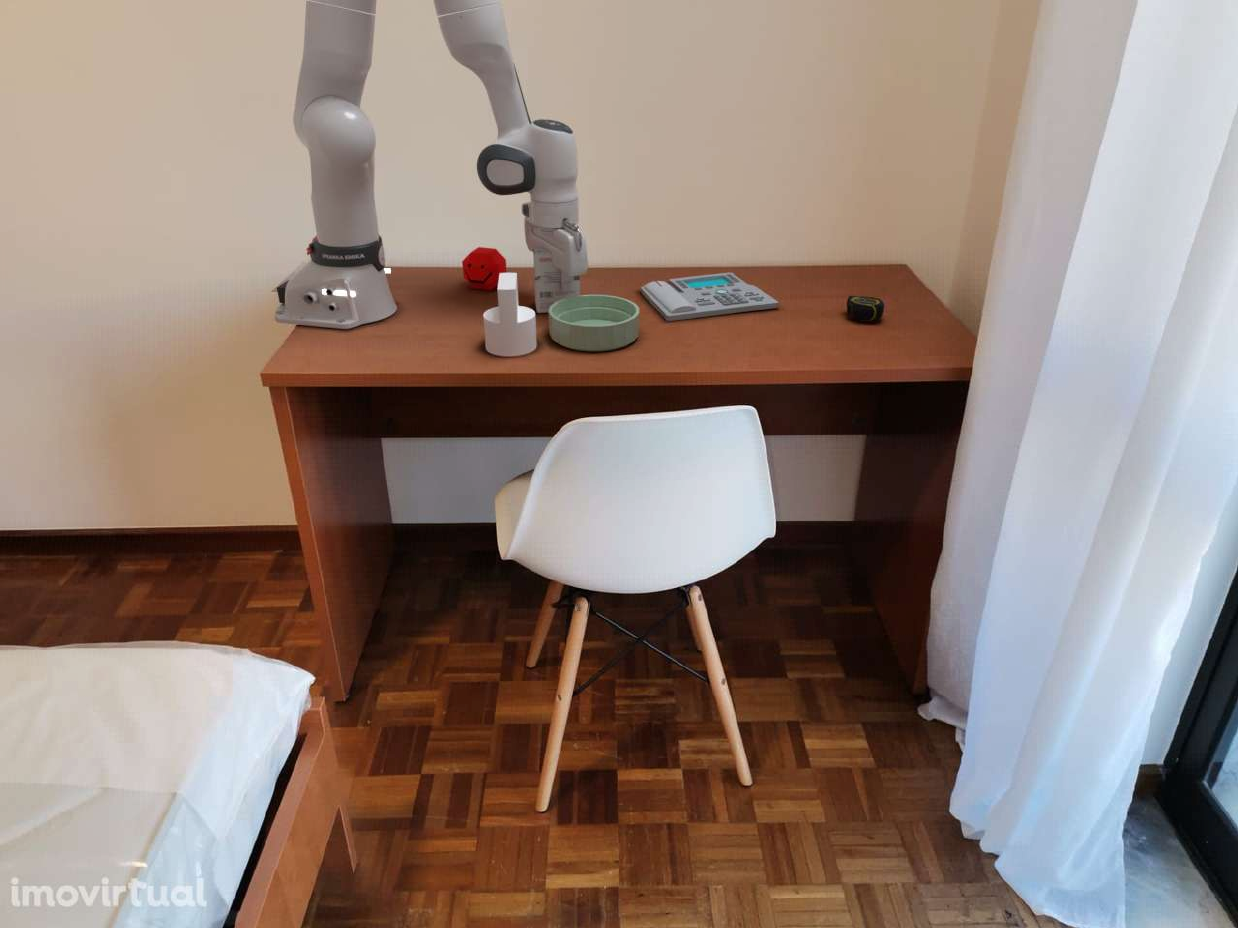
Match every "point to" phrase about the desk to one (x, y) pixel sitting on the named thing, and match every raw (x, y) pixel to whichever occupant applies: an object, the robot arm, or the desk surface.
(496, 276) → the ball
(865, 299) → the tape measure
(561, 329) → the bowl
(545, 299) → the ink box
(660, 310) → the office telephone
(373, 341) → the desk surface
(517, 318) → the base with upright slab
